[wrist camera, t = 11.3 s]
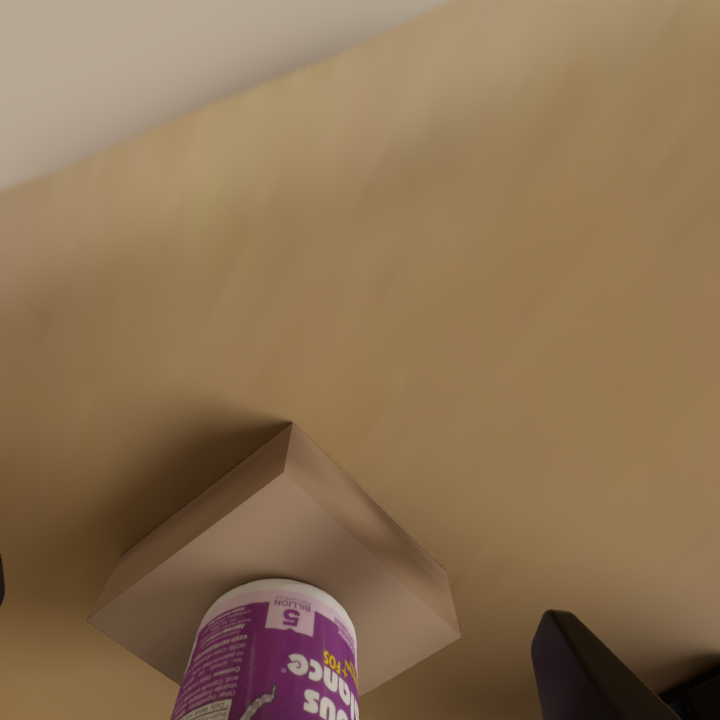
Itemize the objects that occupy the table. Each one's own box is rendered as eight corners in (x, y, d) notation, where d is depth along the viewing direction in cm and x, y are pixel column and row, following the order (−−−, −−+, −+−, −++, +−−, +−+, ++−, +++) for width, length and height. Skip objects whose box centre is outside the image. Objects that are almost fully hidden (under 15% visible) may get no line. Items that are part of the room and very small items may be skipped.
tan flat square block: (446, 572, 21) (461, 637, 18) (281, 676, 23) (272, 749, 21) (293, 422, 18) (283, 472, 16) (120, 555, 21) (85, 620, 18)
